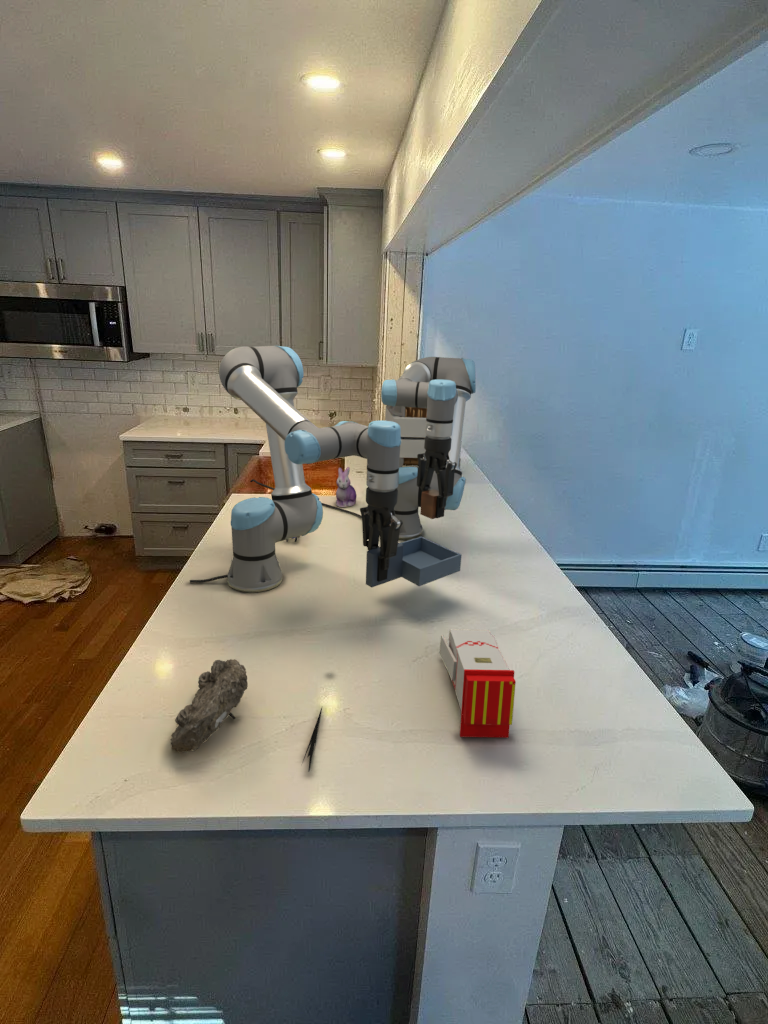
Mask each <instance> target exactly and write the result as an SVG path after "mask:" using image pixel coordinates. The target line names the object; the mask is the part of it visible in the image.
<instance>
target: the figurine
mask: <svg viewBox="0 0 768 1024" xmlns="http://www.w3.org/2000/svg"><path fill="white" fill-rule="evenodd" d="M350 470H351V469H350V466H347V467H346V468H345V470H344V471H343V469H342V467H338V469H337V471H338V472H337V473H338V477H337V479H336V486H337V489H336V492H335V498H336V500H335V505H336V507H338V508H346V507H352V506H354V505H355V504H356V502H357V491H356V489H355V487H354V486H353V485H352V484H351V479H350V477H349V474H350Z"/></svg>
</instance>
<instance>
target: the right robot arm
mask: <svg viewBox="0 0 768 1024" xmlns="http://www.w3.org/2000/svg"><path fill="white" fill-rule="evenodd" d="M476 379H477V378H476V362H475V361H474V359H471V358H463V357H461V358H459V357H442V356H427V357H422V358H418V359H416V360H414V361H412V362H410V363H409V364H408V365H407V366H406V367H405V368H404V370H403V373H402V374H401V376H400V377H398V379H394V378H393V379H385V380H384V381H383V382H382V385H381V395H380V399H381V404H383V405H384V406H386V405H389V406H393V407H394V406H401V407H416V408H427V418H426V430H425V434H426V435H427V436H426V437H425V443H424V449H425V450H426V451H425V453H421V454H418V455H417V457H418V466H417V467H416V466H403V467H400V468H399V481H398V487H397V490H398V497H397V504H396V505H395V507H394V511H395V517H396V518H397V520H398V521H399V520H402V522H403V524H402V526H401V528H400V533H399V540H398V541H408V540H411V539H414V538H418V537H421V536H422V535H423V525H422V524H421V518H420V515H419V514H420V513H419V508H421V497H422V492H424V491H428V490H432V489H435V490H438V491H439V495H438V496H437V502H436V515H435V519H440V518H444V516H445V511H456V510H458V509H459V508H460V505H461V502H462V499H463V495H464V491H465V485H466V480H467V479H466V477H465V476H463V471H462V470H461V468H460V469H459V467H458V466H459V457H460V458H461V454H460V448H461V449H462V443H461V441H462V438H463V432H462V431H464V421H465V413H466V404H467V402H468V401H469V400H471V398H472V395H474V394H476V389H477V387H476V384H477V383H476ZM253 482H254V483H255V484H257V485H259V486H261V487H264V488H267V489H269V490H272V491H273V490H274V489H275V487H272V486H269V485H267V484H264V483H261V482H259V481H257V480H256V479H255V478H253V479H251V480H250V481H249V483H253ZM321 504H322V507H327V508H330V509H334V510H337V511H340V512H344V513H346V514H350V515H352V516H356V517H358V518H360V519H362V516H361V514H359V513H356V512H354V511H351V510H349V509H348V510H347V509H344V508H342V507H338V506H334V505H331V504H327V503H323V502H321ZM444 507H445V510H444Z"/></svg>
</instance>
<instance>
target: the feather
mask: <svg viewBox="0 0 768 1024" xmlns="http://www.w3.org/2000/svg"><path fill="white" fill-rule="evenodd" d="M329 675H330V676H331V675H332V674H331V673H330V674H329ZM322 710H323V707H321V708H320V710H319V713H318V716H317V719H316V723H315V725H314V728H313V731H312V733H311V737H310V739H309V742H308V745H307V748H306V751H305V754H304V757H303V760H302V763H301V767H302V765H303V763H304V761H305V758H308V759H309V760H308V762H307V763H308V764H307V766H308V771H310V770H311V766H312V765H311V764H312V760H313V757H315V756H314V755H315V751H316V749H315V746H317V739H318V733H319V729H320V722H321V717H322V712H323V711H322ZM313 754H314V755H313ZM306 755H307V757H306Z"/></svg>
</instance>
